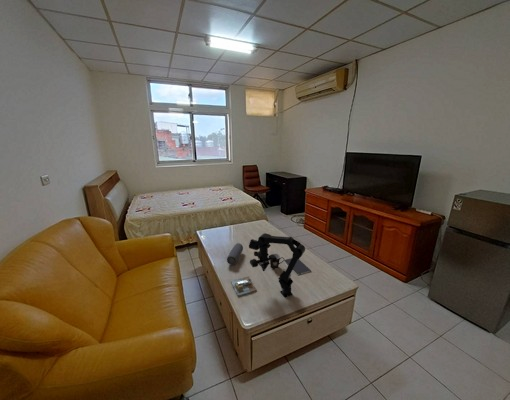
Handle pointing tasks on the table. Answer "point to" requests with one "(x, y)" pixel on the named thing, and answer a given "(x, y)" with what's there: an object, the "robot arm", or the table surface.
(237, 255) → the bluetooth speaker
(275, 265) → the coffee mug
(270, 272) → the table surface
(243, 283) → the latch bar
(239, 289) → the door panel
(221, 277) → the table surface
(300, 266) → the notebook
